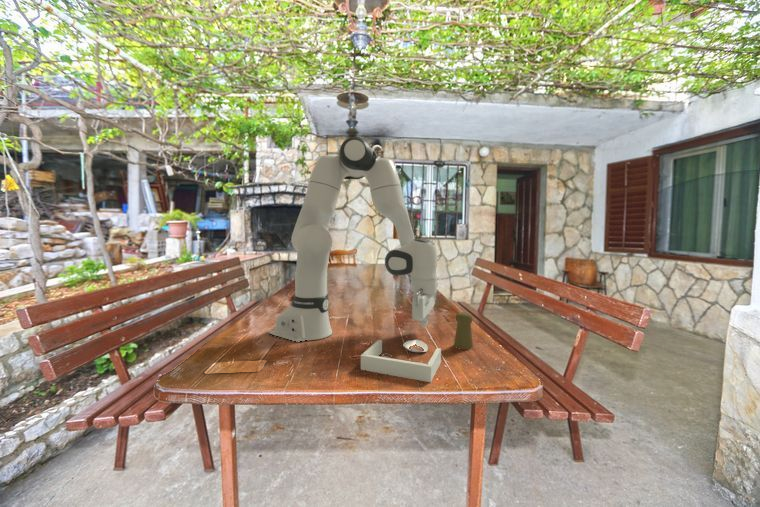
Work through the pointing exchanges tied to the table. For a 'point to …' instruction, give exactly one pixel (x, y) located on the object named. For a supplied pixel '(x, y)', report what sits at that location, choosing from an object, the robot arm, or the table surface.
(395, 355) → the table surface
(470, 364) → the table surface
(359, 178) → the robot arm
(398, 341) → the table surface
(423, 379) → the box
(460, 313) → the green tapered cylinder
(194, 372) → the table surface
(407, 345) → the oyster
